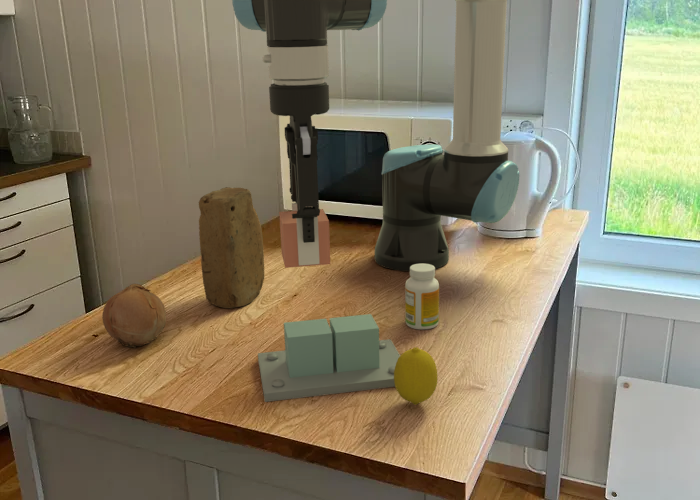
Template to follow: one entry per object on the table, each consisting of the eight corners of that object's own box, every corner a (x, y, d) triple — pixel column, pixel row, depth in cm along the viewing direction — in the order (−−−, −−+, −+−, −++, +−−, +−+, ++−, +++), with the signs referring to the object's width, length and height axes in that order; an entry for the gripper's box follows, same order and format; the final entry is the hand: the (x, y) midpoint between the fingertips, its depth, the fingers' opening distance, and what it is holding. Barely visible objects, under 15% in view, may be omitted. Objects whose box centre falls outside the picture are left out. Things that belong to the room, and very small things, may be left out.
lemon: (391, 394, 94) (390, 339, 92) (432, 392, 94) (433, 337, 92) (397, 416, 89) (397, 359, 86) (441, 414, 89) (442, 356, 87)
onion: (139, 349, 116) (139, 287, 117) (179, 346, 110) (178, 282, 112) (89, 350, 108) (89, 284, 109) (129, 347, 103) (129, 278, 104)
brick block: (324, 250, 100) (322, 209, 98) (330, 264, 94) (328, 220, 92) (281, 253, 99) (279, 211, 97) (285, 267, 93) (282, 223, 91)
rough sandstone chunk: (233, 313, 121) (224, 199, 115) (200, 305, 125) (189, 194, 118) (272, 292, 130) (265, 185, 123) (240, 286, 133) (232, 181, 127)
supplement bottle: (441, 318, 117) (442, 263, 114) (434, 332, 112) (435, 274, 109) (409, 315, 119) (410, 260, 116) (401, 328, 114) (401, 271, 111)
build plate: (390, 346, 108) (390, 302, 105) (412, 384, 96) (412, 336, 94) (258, 360, 104) (255, 315, 102) (264, 401, 93) (261, 352, 91)
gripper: (264, 76, 98) (274, 237, 105) (273, 89, 80) (283, 282, 87) (319, 74, 99) (324, 234, 106) (339, 87, 81) (344, 277, 88)
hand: (306, 255), depth 96 cm, fingers closed on brick block, 6 cm apart
